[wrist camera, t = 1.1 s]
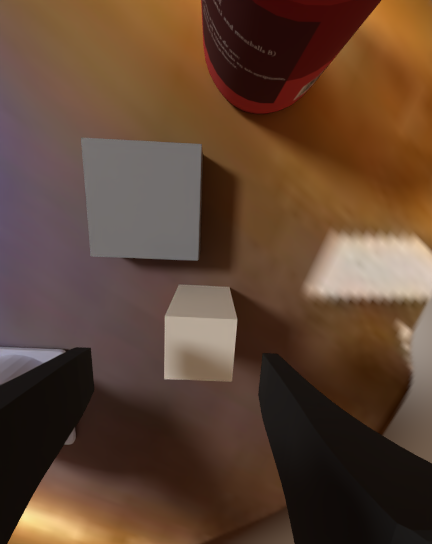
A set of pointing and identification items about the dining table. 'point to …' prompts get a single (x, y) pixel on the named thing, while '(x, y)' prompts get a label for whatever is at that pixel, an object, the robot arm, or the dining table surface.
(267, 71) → the canned food
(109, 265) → the dining table surface
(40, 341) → the dining table surface
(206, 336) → the cream block
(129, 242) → the grey square block
